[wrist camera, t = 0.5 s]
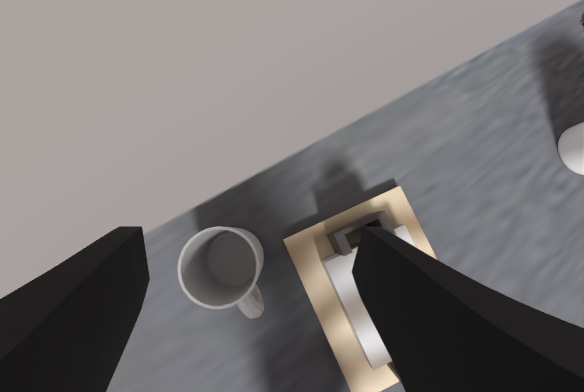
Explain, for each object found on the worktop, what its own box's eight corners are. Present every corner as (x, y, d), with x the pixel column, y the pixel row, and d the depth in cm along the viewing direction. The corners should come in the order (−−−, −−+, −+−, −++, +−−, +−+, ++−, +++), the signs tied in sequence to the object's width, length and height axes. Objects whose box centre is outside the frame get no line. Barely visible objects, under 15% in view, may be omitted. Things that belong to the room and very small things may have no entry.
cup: (244, 216, 34) (232, 211, 25) (288, 285, 33) (291, 305, 24) (193, 248, 33) (162, 255, 24) (237, 320, 32) (221, 354, 23)
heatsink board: (469, 335, 33) (510, 356, 27) (353, 397, 32) (370, 434, 26) (395, 187, 35) (418, 178, 29) (283, 239, 33) (283, 241, 28)
